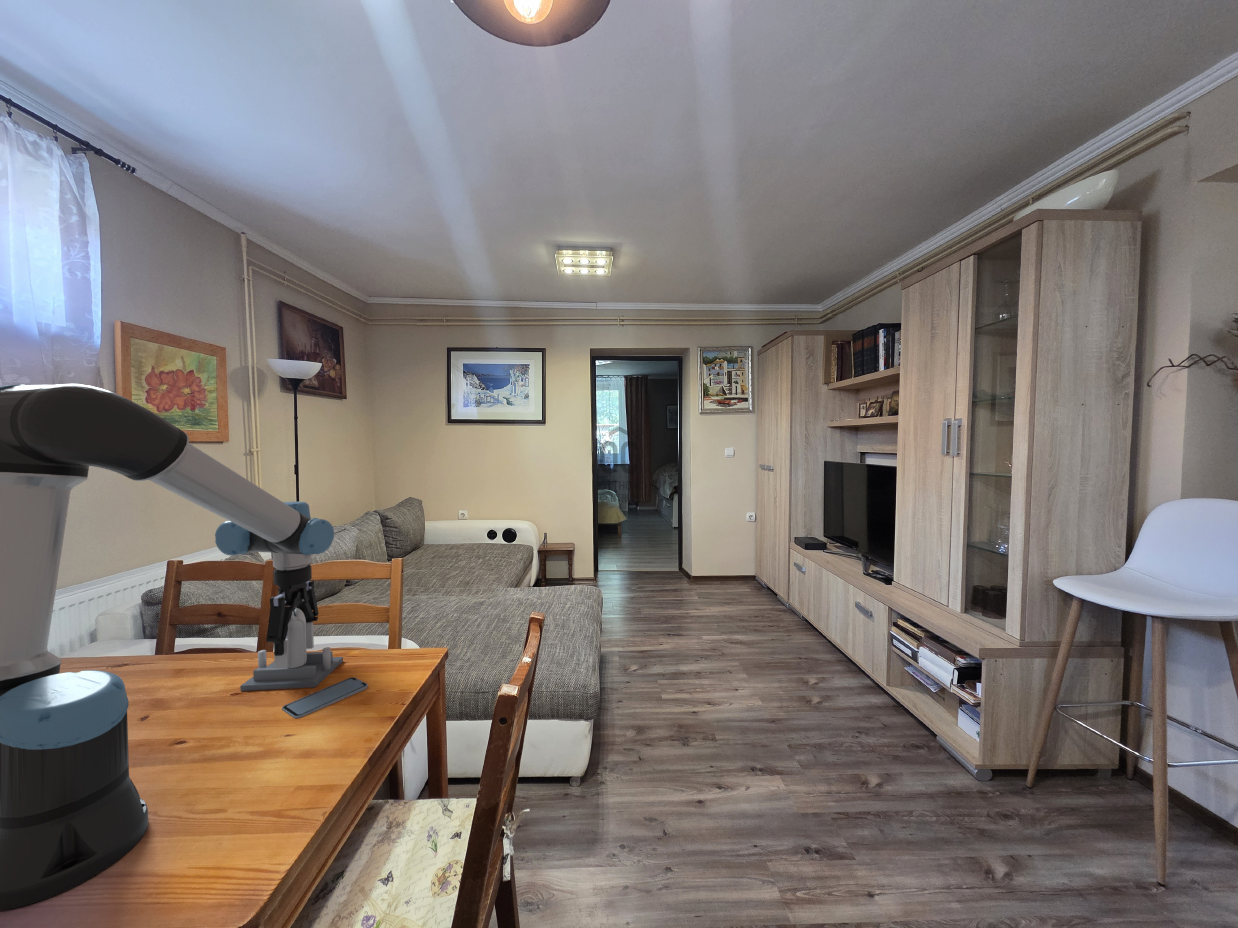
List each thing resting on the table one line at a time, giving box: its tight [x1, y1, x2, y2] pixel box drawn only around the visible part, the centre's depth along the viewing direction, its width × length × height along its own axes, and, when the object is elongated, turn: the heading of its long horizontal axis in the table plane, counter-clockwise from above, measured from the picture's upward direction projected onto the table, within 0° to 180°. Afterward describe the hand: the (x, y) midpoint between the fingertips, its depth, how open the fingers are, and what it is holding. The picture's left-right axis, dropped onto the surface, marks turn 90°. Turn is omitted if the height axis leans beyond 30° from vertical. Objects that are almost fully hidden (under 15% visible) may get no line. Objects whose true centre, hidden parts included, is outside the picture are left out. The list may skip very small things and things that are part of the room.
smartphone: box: [281, 676, 368, 719], centre depth 102 cm, size 7×1×15 cm
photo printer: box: [286, 608, 307, 668], centre depth 112 cm, size 10×4×12 cm, turn 39°
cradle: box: [239, 646, 344, 692], centre depth 112 cm, size 13×16×6 cm
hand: (295, 657), depth 112 cm, fingers closed on photo printer, 10 cm apart
